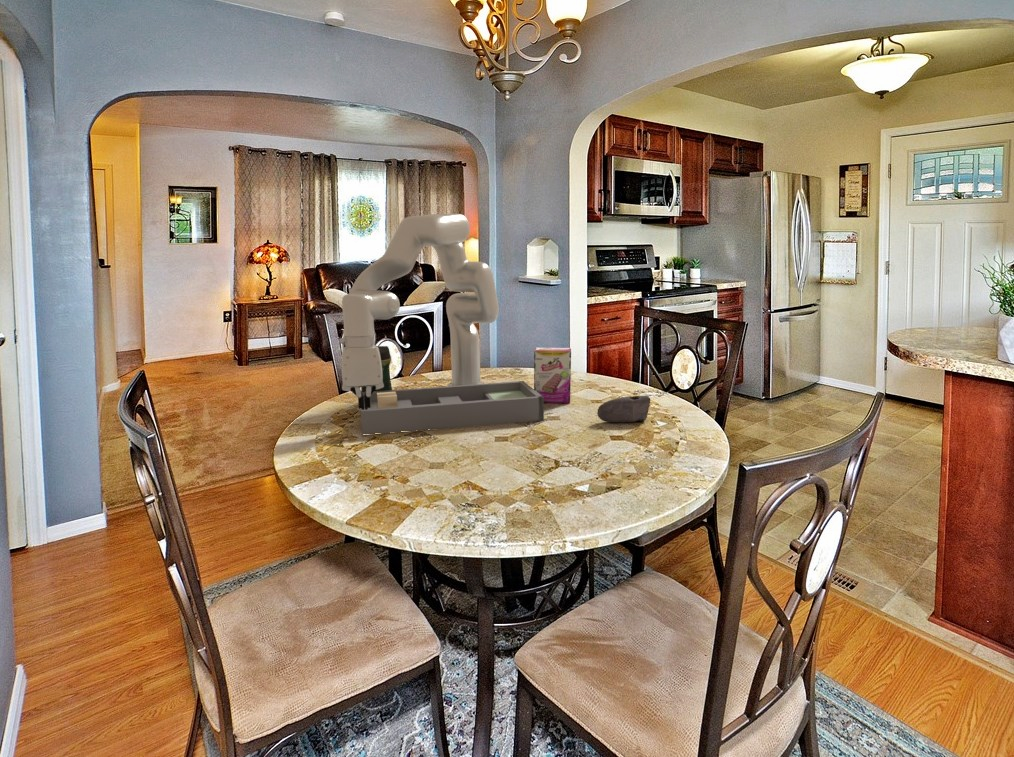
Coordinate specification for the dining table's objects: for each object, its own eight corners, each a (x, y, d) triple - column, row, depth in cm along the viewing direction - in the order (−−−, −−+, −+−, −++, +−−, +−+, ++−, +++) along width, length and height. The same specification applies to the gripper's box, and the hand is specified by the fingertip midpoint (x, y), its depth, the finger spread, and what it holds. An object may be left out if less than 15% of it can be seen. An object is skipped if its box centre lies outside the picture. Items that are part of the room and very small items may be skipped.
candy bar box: (533, 403, 188) (533, 350, 184) (534, 399, 192) (534, 347, 189) (570, 403, 186) (571, 350, 183) (570, 399, 191) (571, 347, 188)
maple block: (377, 410, 167) (376, 392, 166) (396, 409, 168) (395, 391, 167) (378, 415, 162) (377, 397, 161) (398, 414, 163) (397, 395, 162)
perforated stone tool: (599, 425, 164) (599, 400, 163) (594, 420, 170) (595, 395, 168) (654, 423, 166) (655, 398, 164) (648, 418, 171) (649, 393, 169)
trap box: (361, 414, 179) (359, 392, 177) (523, 401, 190) (523, 380, 188) (362, 436, 159) (360, 411, 157) (543, 420, 170) (543, 397, 169)
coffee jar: (395, 403, 190) (391, 343, 186) (392, 410, 183) (389, 348, 179) (363, 404, 190) (359, 344, 185) (359, 411, 182) (355, 349, 178)
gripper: (329, 345, 154) (335, 416, 158) (390, 342, 158) (394, 412, 162) (330, 341, 162) (335, 409, 166) (388, 338, 165) (392, 405, 169)
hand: (364, 410), depth 164 cm, fingers closed
